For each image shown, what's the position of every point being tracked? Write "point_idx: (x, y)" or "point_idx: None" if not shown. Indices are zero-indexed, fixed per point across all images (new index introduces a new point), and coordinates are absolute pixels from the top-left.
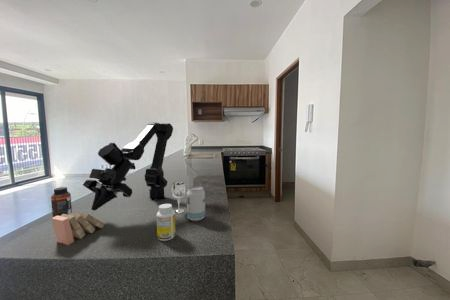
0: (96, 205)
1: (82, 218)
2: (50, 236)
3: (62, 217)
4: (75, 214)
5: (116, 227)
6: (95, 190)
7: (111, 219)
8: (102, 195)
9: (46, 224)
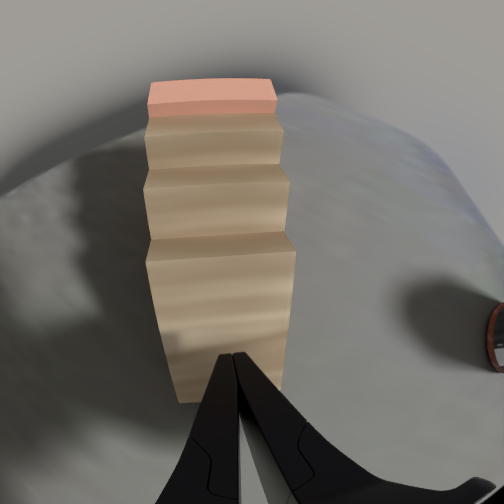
0: (207, 390)
1: (149, 216)
2: (340, 206)
3: (200, 94)
4: (208, 182)
5: (109, 417)
6: (397, 500)
7: (250, 478)
8: (177, 500)
9: (471, 262)
